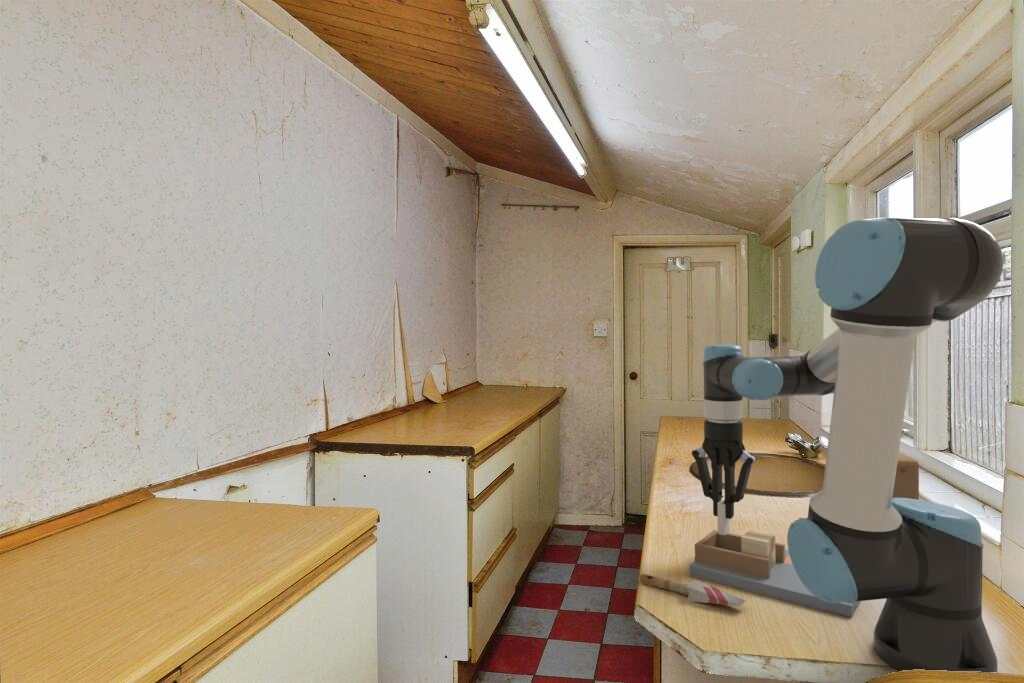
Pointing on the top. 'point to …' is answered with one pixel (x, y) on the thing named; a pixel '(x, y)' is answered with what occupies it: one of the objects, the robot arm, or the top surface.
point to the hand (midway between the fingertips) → (723, 532)
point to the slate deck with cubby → (756, 572)
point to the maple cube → (759, 545)
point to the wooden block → (906, 478)
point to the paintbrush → (694, 591)
